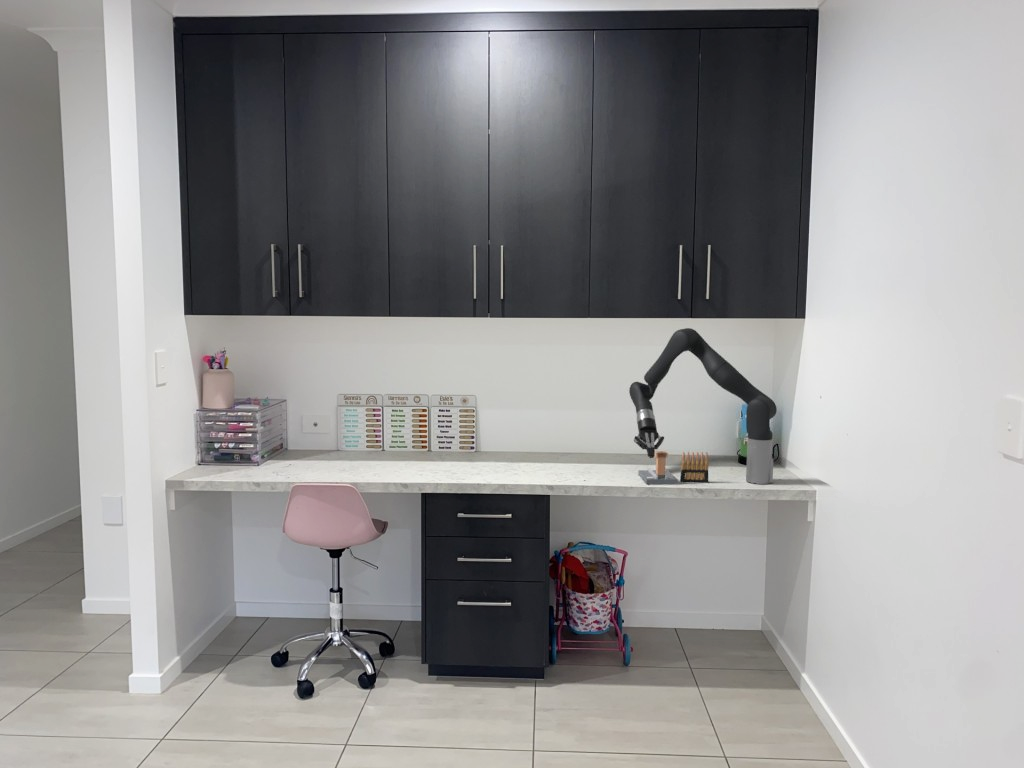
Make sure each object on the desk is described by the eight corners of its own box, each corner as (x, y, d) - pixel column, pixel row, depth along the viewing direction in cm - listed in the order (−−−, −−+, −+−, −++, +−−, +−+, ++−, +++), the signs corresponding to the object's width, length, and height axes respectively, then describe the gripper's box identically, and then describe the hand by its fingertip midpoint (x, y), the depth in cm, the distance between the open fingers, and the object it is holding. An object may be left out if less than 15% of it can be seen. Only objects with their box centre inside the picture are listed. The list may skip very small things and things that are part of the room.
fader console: (667, 475, 323) (667, 467, 323) (677, 484, 307) (677, 476, 307) (638, 475, 322) (638, 467, 322) (646, 484, 307) (646, 476, 306)
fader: (665, 476, 311) (665, 451, 310) (666, 477, 308) (667, 452, 307) (653, 476, 311) (654, 451, 310) (655, 477, 308) (656, 452, 307)
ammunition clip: (707, 481, 312) (708, 451, 310) (708, 483, 310) (709, 452, 309) (680, 481, 313) (680, 451, 311) (680, 482, 311) (681, 452, 309)
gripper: (632, 416, 331) (637, 451, 321) (663, 417, 332) (669, 451, 321) (629, 427, 337) (634, 461, 327) (660, 427, 338) (666, 462, 327)
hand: (651, 456), depth 324 cm, fingers closed
